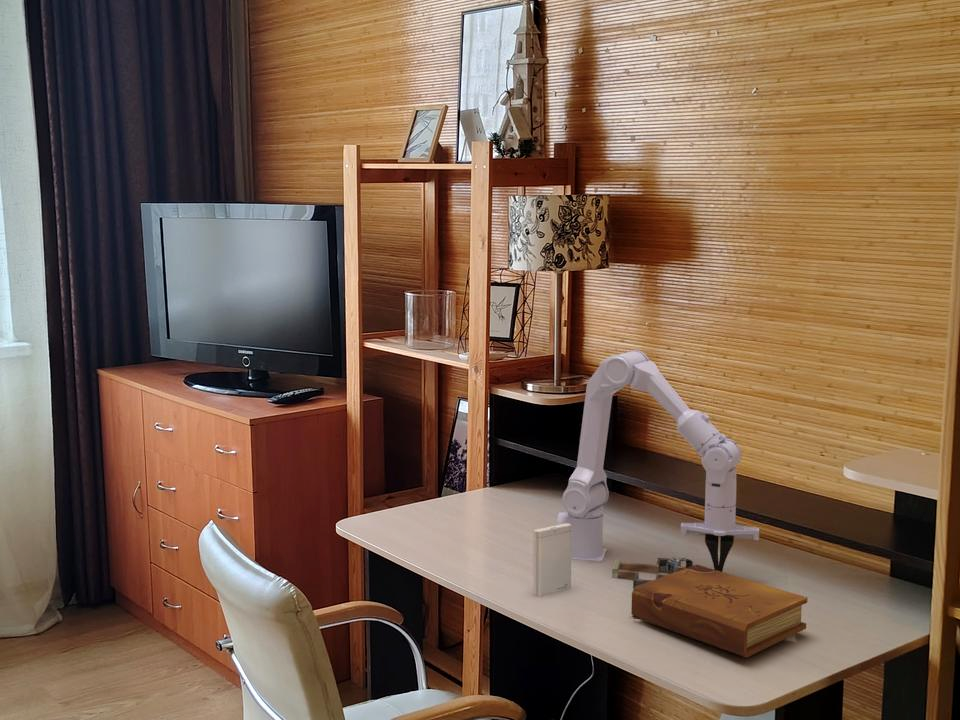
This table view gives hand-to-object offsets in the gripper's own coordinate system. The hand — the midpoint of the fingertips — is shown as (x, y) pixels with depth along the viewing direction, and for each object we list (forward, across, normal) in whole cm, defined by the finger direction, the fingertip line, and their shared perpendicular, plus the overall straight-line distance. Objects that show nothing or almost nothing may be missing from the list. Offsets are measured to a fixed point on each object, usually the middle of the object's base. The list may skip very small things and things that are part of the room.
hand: (718, 573), depth 202 cm
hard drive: (+2, -30, -13) cm, 33 cm away
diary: (+2, 0, -21) cm, 21 cm away
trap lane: (+2, -11, 0) cm, 11 cm away
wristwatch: (+3, -7, 0) cm, 8 cm away
